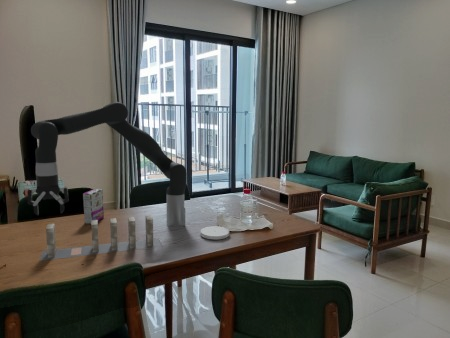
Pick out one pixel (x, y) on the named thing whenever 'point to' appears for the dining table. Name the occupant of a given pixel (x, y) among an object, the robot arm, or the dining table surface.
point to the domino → (51, 240)
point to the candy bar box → (93, 205)
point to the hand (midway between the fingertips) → (49, 213)
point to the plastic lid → (214, 232)
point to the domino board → (102, 249)
